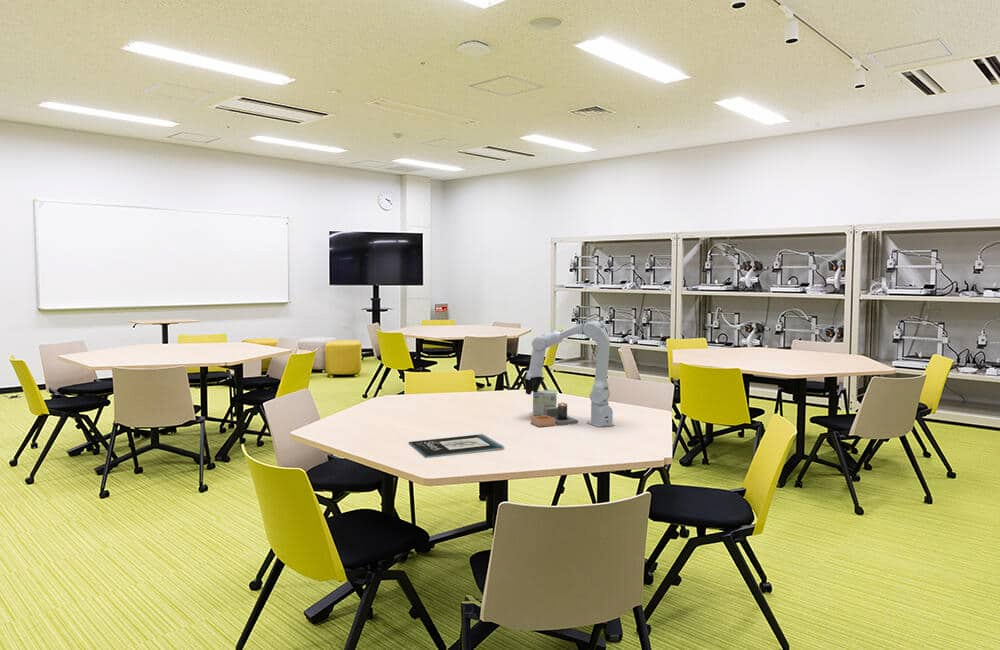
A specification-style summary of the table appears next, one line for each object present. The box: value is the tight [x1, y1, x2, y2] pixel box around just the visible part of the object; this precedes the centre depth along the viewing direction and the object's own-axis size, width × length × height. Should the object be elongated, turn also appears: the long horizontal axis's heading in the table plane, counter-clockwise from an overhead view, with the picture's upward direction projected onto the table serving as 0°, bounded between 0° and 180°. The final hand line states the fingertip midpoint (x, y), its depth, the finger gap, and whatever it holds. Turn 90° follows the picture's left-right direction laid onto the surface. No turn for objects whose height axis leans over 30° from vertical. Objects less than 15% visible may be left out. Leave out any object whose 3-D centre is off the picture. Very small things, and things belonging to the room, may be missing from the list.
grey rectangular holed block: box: [542, 406, 579, 426], centre depth 292 cm, size 13×10×5 cm
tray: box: [530, 415, 556, 428], centre depth 286 cm, size 8×8×3 cm
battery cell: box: [557, 402, 568, 421], centre depth 291 cm, size 4×4×8 cm
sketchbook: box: [408, 433, 505, 459], centre depth 248 cm, size 22×30×2 cm
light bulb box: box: [532, 389, 558, 416], centre depth 307 cm, size 11×7×11 cm, turn 84°
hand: (531, 392), depth 300 cm, fingers open, 6 cm apart
